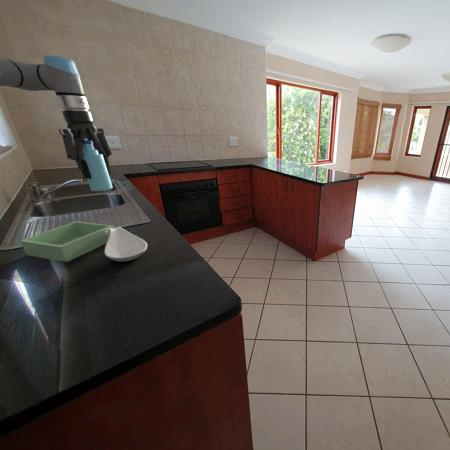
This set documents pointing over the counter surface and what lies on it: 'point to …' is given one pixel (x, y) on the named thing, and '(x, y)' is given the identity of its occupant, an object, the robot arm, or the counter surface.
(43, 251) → the bin
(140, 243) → the spoon rest
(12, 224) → the counter surface
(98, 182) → the bottle
